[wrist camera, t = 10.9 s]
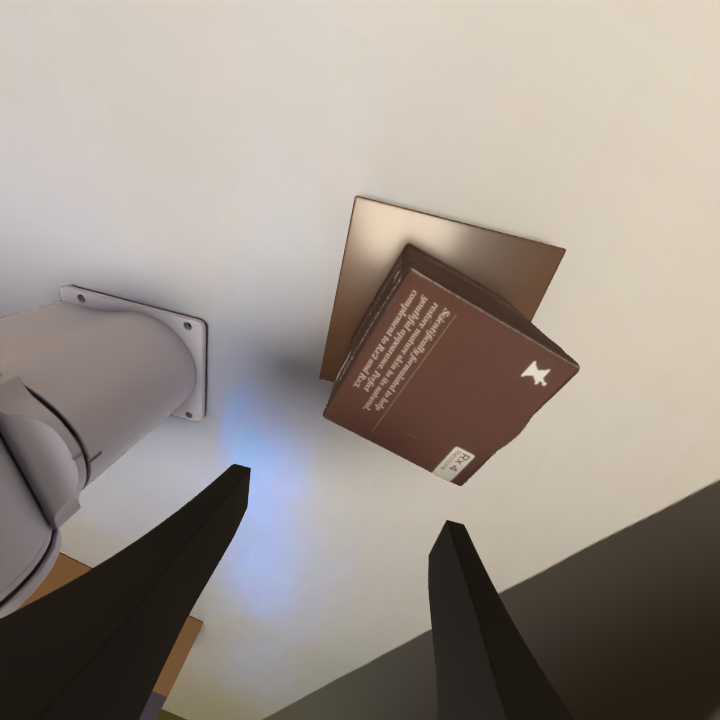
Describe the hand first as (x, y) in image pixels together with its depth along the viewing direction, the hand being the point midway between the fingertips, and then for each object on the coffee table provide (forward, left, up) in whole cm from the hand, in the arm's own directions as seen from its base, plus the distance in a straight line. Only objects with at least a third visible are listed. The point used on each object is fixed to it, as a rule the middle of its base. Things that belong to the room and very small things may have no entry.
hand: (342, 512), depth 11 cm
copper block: (+2, +5, -10) cm, 12 cm away
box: (+2, +5, -9) cm, 10 cm away
